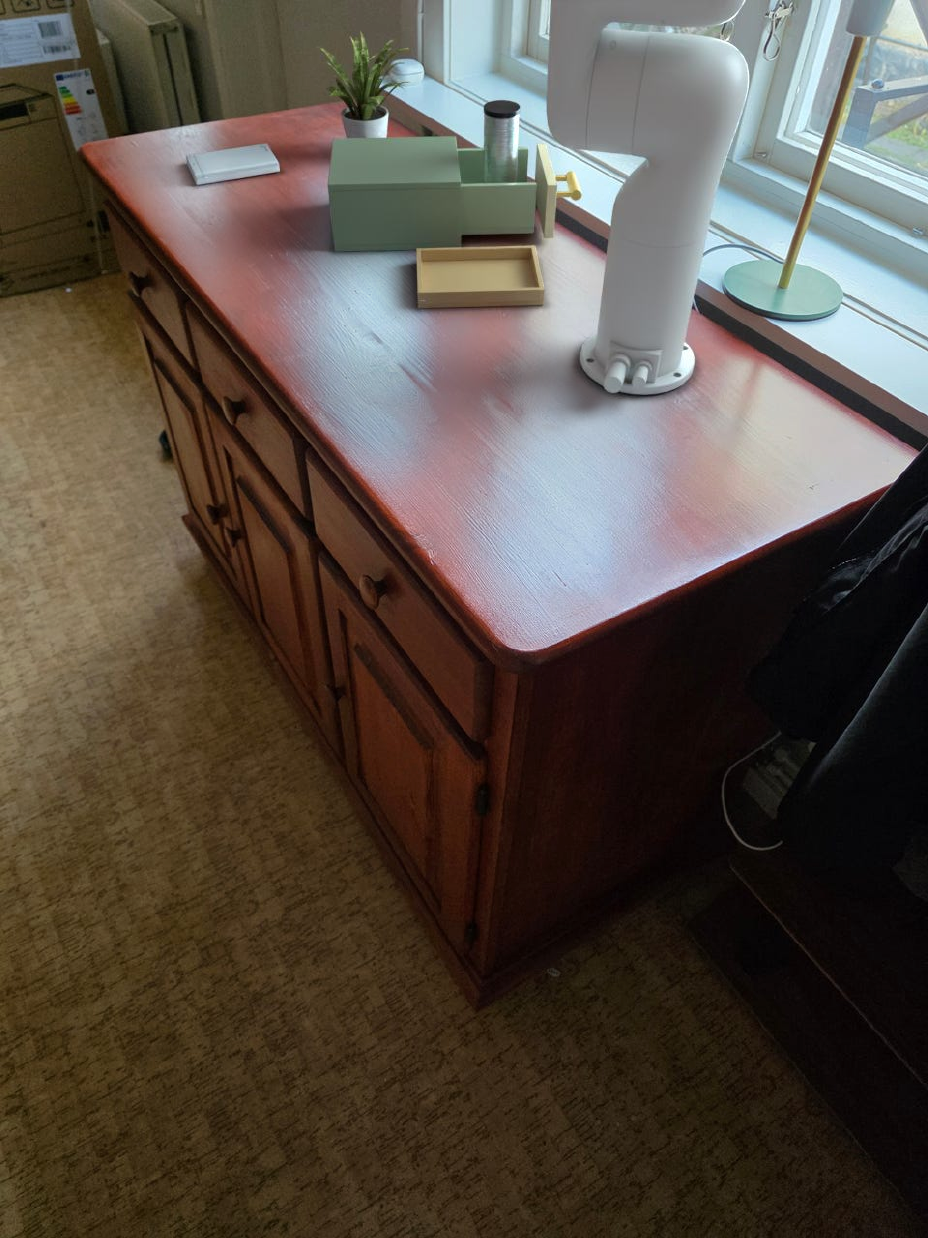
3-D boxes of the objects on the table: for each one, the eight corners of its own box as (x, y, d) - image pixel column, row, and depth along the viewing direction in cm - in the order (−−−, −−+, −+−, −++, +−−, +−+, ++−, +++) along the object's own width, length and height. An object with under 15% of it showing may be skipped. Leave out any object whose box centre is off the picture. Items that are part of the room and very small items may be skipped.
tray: (534, 260, 115) (535, 245, 113) (543, 304, 107) (544, 289, 106) (416, 263, 114) (416, 247, 113) (418, 308, 107) (417, 292, 105)
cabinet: (456, 200, 127) (455, 135, 120) (461, 248, 117) (461, 181, 110) (339, 202, 126) (332, 137, 120) (334, 251, 116) (327, 184, 110)
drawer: (569, 192, 126) (574, 142, 121) (582, 237, 117) (588, 184, 112) (433, 196, 125) (431, 144, 120) (435, 240, 117) (434, 187, 111)
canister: (511, 217, 119) (515, 114, 109) (478, 212, 119) (479, 110, 110) (519, 202, 121) (524, 101, 112) (487, 198, 122) (489, 97, 113)
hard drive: (266, 141, 136) (184, 153, 133) (279, 161, 131) (194, 174, 128) (267, 152, 138) (187, 164, 135) (280, 173, 133) (197, 186, 130)
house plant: (438, 163, 135) (436, 39, 123) (359, 185, 130) (348, 58, 117) (389, 133, 143) (383, 14, 130) (313, 152, 138) (298, 30, 125)
